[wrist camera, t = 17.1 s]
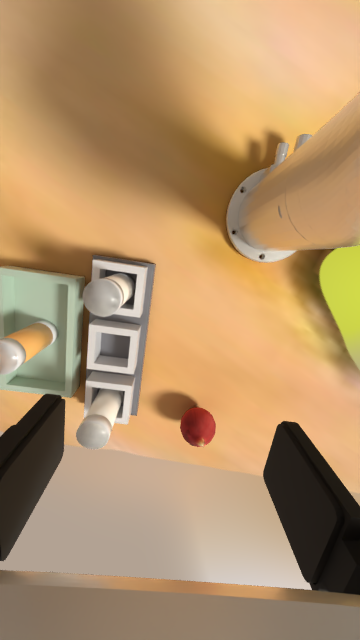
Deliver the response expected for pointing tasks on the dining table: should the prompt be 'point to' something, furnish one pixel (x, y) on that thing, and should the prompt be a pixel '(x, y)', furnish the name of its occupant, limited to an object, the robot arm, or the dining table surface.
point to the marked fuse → (25, 344)
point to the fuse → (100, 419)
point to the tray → (44, 304)
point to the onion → (197, 427)
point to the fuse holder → (119, 337)
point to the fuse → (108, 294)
